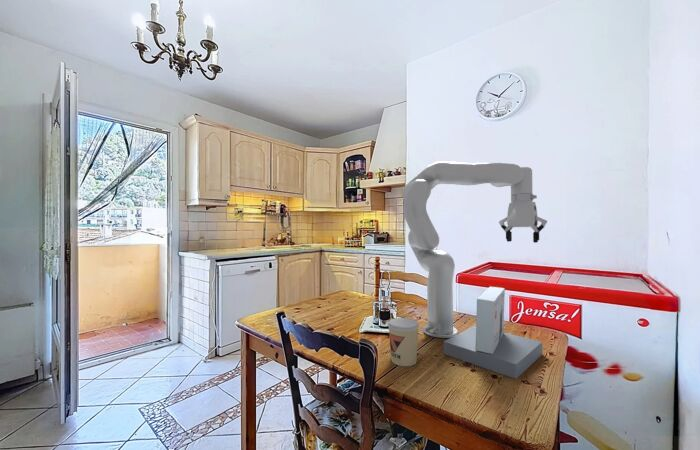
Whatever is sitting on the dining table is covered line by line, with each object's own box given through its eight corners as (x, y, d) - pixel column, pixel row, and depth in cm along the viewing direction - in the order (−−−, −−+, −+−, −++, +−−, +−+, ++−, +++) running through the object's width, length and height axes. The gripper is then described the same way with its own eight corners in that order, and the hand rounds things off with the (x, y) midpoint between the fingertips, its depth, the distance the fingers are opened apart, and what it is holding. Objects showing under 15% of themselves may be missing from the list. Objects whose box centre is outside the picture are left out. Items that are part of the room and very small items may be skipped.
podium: (516, 379, 83) (516, 364, 82) (443, 353, 99) (443, 341, 99) (542, 354, 97) (542, 341, 97) (475, 335, 114) (475, 325, 114)
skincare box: (495, 355, 88) (494, 300, 88) (475, 351, 91) (474, 298, 91) (505, 332, 105) (505, 287, 105) (488, 330, 109) (488, 285, 108)
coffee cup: (383, 357, 97) (382, 320, 97) (407, 351, 101) (407, 315, 101) (399, 370, 89) (398, 329, 88) (425, 363, 92) (424, 324, 92)
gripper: (549, 197, 117) (550, 242, 117) (502, 200, 130) (503, 240, 130) (543, 197, 112) (543, 243, 112) (495, 200, 125) (495, 241, 125)
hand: (522, 241), depth 121 cm, fingers open, 9 cm apart
